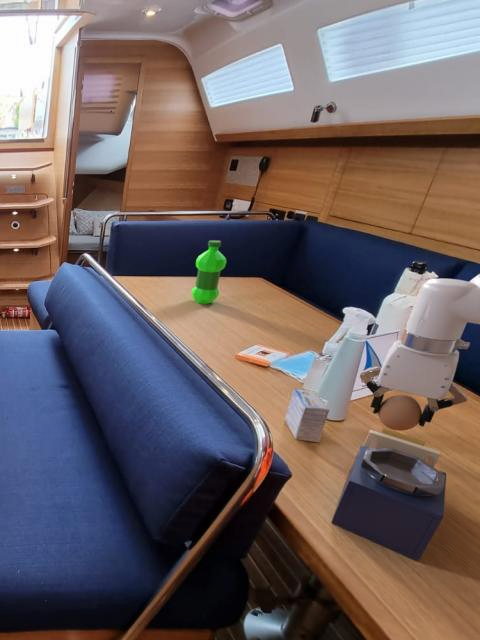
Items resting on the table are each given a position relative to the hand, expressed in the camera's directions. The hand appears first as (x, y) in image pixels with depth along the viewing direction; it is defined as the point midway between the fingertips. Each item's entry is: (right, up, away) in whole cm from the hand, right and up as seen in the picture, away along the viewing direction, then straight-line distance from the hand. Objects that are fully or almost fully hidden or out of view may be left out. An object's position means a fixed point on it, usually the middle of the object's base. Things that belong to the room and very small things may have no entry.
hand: (398, 416), depth 89 cm
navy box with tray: (-22, -15, -18) cm, 32 cm away
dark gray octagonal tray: (-22, -6, -22) cm, 32 cm away
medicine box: (-17, -4, +5) cm, 18 cm away
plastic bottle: (+5, +32, +83) cm, 89 cm away
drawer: (-13, -10, -11) cm, 20 cm away
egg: (0, -3, +1) cm, 3 cm away
